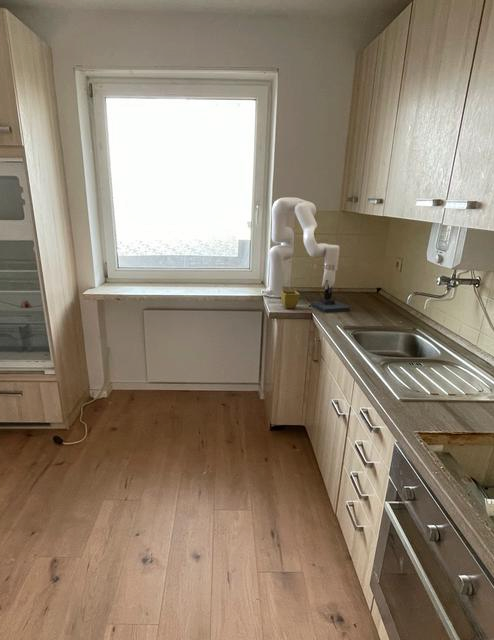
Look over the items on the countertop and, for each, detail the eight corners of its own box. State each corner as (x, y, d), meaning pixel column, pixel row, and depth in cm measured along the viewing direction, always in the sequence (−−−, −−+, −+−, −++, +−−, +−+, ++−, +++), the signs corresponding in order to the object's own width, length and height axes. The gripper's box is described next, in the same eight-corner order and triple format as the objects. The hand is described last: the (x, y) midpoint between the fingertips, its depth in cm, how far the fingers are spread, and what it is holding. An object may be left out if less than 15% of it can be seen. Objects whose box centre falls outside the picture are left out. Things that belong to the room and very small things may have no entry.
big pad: (324, 312, 234) (325, 309, 233) (311, 305, 248) (311, 302, 247) (349, 310, 238) (350, 307, 237) (335, 303, 252) (335, 300, 252)
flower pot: (293, 305, 248) (295, 290, 245) (298, 309, 240) (299, 293, 237) (279, 305, 247) (280, 290, 243) (284, 309, 239) (285, 294, 235)
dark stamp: (325, 304, 242) (326, 290, 239) (319, 301, 248) (321, 288, 245) (334, 303, 244) (336, 290, 241) (329, 301, 250) (330, 288, 247)
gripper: (328, 264, 246) (325, 295, 253) (320, 268, 233) (317, 300, 240) (340, 265, 243) (337, 296, 250) (333, 269, 230) (330, 302, 237)
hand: (327, 298), depth 245 cm, fingers closed on dark stamp, 2 cm apart
